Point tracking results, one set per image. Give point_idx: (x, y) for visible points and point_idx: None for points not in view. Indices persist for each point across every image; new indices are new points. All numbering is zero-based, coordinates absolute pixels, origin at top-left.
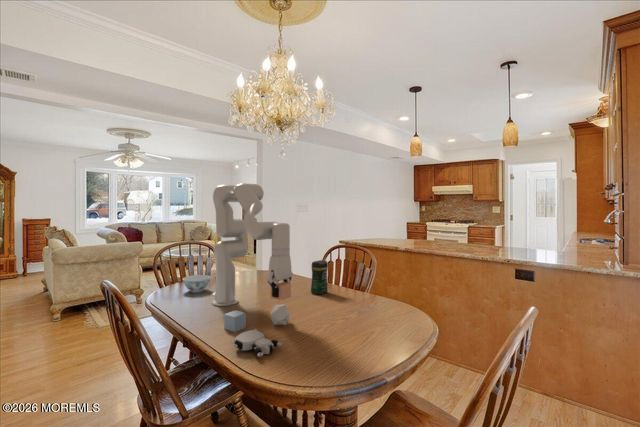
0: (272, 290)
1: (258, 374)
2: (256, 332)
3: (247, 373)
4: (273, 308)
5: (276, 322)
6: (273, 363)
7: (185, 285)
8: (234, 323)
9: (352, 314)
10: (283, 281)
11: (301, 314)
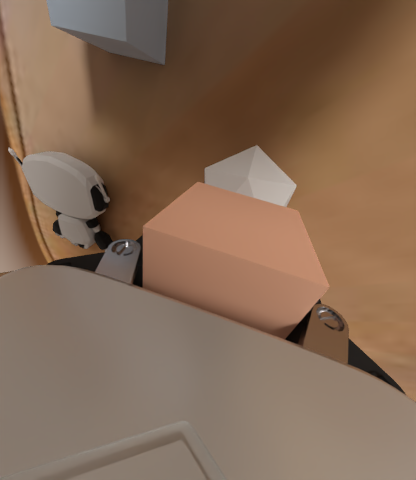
0: (142, 237)
1: (48, 242)
2: (81, 197)
3: (37, 227)
4: (226, 178)
5: None
6: (80, 251)
7: None
8: (81, 38)
9: (375, 352)
10: (306, 322)
11: (372, 227)
